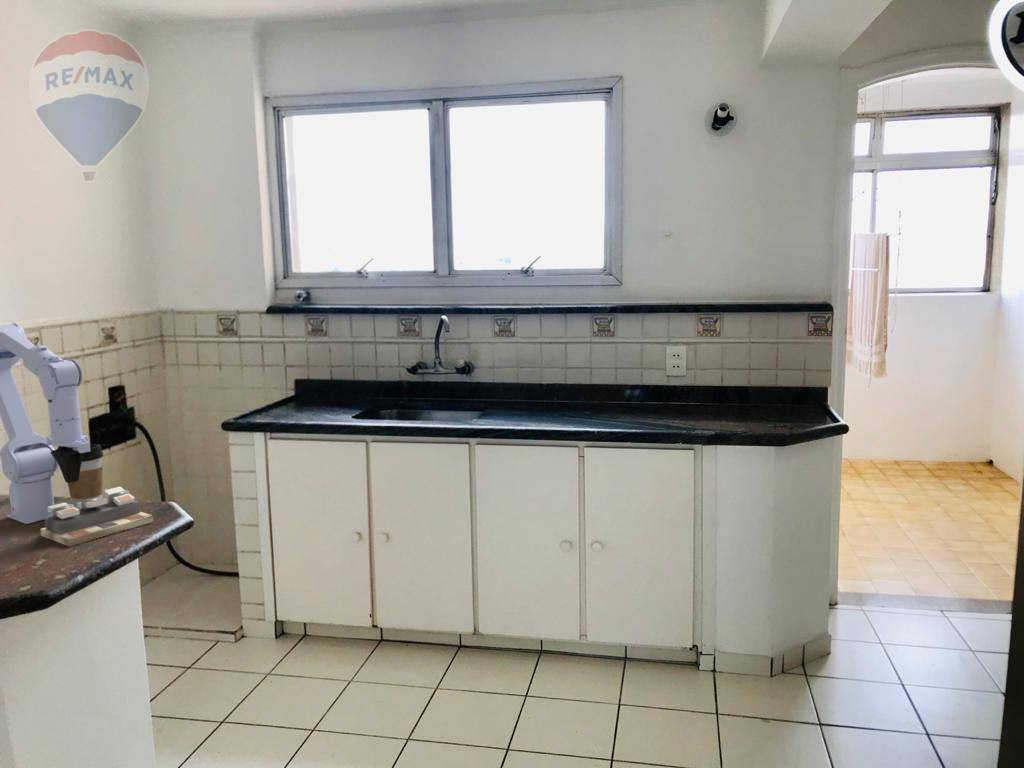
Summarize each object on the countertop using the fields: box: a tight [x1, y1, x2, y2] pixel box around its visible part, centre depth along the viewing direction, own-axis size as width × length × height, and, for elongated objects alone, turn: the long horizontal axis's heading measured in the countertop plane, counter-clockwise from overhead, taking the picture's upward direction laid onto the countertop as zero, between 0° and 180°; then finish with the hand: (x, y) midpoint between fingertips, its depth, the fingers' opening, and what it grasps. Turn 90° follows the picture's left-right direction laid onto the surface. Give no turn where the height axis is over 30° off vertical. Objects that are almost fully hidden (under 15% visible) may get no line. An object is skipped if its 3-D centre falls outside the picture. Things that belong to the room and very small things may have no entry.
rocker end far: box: [103, 486, 136, 506], centre depth 181 cm, size 6×4×2 cm, turn 54°
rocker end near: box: [47, 502, 80, 519], centre depth 171 cm, size 6×4×2 cm, turn 54°
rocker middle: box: [77, 496, 109, 510], centre depth 176 cm, size 6×4×2 cm, turn 54°
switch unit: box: [39, 500, 154, 547], centre depth 175 cm, size 12×18×4 cm, turn 144°
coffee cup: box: [67, 443, 104, 509], centre depth 188 cm, size 8×8×15 cm
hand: (72, 481), depth 174 cm, fingers closed
